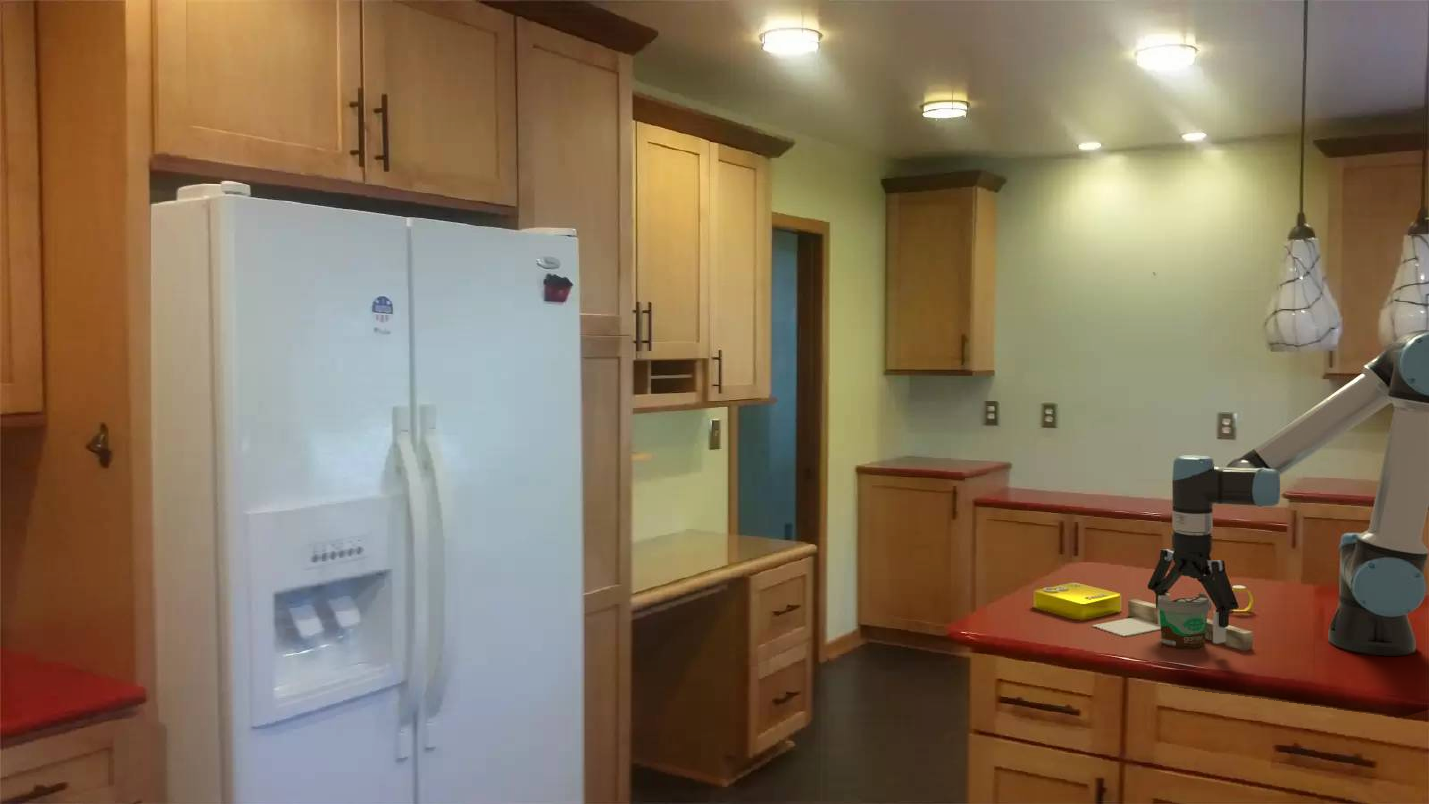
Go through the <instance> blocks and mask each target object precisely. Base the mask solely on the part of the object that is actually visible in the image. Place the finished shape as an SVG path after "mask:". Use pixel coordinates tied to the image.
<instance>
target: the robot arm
mask: <svg viewBox="0 0 1429 804" xmlns="http://www.w3.org/2000/svg"><path fill="white" fill-rule="evenodd" d="M1389 404H1392V405H1393V407H1394V408H1393V409H1394V410H1393V415H1392V419H1391V424H1390V428H1389V433H1388V437H1387V442H1386V446H1385V452H1384V457H1383V460H1382V461H1383V462H1382V466H1381V469H1380V475H1379V479H1378V484H1377V489H1376V493H1375V497H1374V503H1373V507H1372V512H1371V517H1370V522H1369V526H1368V529H1367V530H1365V531H1364V532H1346V533H1343V534H1342V535H1341V537H1340V544H1339V545H1338V548H1339V553H1340V554H1339V557H1340V558H1339V587H1338V588H1339V591H1338V592H1339V593H1338V594H1339V595H1338V596H1339V598H1338V606H1337V608H1336V611H1335V613H1334V615H1333V618H1332V621H1331V622H1330V623H1331V624H1330V626H1329V629H1328V642H1329V643H1330V644H1332V645H1333V646H1335V647H1337V648H1340V649H1343V650H1346V651H1351V652H1355V653H1360V654H1366V655H1373V656H1388V657H1396V656H1405V655H1406V656H1407V655H1411V654H1413V653H1415V652H1416V637H1415V634H1414V632H1413V629H1412V625H1411V622H1410V620H1409V617H1408V614H1410V613H1411V612H1413V611H1415V610H1416V609H1418V607H1420V605H1421V604H1422V603H1423V601H1424V599H1425V597H1426V594H1427V593H1426V591H1427V586H1426V585H1427V583H1426V579H1425V576H1424V575H1425V569H1426V565H1427V561H1428V555H1429V549H1428V548H1427V546H1426V545H1425V544H1424V542H1423V541H1422V538H1423V533H1424V529H1425V524H1426V520H1427V515H1428V512H1429V330H1427V329H1425V330H1423V329H1420V330H1415V331H1414V330H1413V331H1411V332H1408V333H1406V334H1404V335H1403V336H1401V337H1399V338H1398V339H1397V340H1396V341H1394V342H1393V343H1392V344H1391V345H1389V346H1388V347H1387V348H1385V350H1383V351H1382V352H1380V353H1379V354H1378V355H1377V356H1376V357H1374V358H1373V359H1372V360H1371V361H1369V362H1368V363H1366V364H1365V365H1364V366H1363V368H1362V373H1361V374H1360V375H1358V376H1357V377H1355V378H1353V379H1352V380H1351V381H1349V382H1348V383H1346V384H1344V385H1343V386H1342V387H1340V388H1339V389H1338V390H1337V391H1335V392H1334V393H1332V394H1331V395H1329V396H1328V397H1326V398H1325V399H1323V400H1322V401H1321V402H1319V403H1317V404H1316V405H1315V406H1313V407H1312V408H1310V409H1309V410H1307V411H1306V412H1304V413H1303V414H1302V415H1300V416H1299V417H1297V418H1295V420H1293V421H1291V422H1290V423H1289V424H1287V425H1286V426H1284V427H1283V428H1282V429H1279V431H1276V433H1274V434H1272V436H1270V437H1267V438H1266V439H1265V440H1264V441H1262V442H1261V443H1259V444H1258V445H1257V446H1255V447H1254V448H1253V449H1252V450H1250V451H1247V453H1246V454H1243V455H1241V456H1240V457H1237V458H1234V459H1232V460H1231V461H1230V462H1229V463H1228V464H1227V465H1226V467H1225V466H1223V467H1222V466H1216V465H1215V463H1214V459H1213V458H1212V457H1211V456H1208V455H1197V454H1196V455H1193V454H1191V455H1189V454H1187V455H1180V456H1177V457H1175V459H1174V460H1173V466H1172V467H1173V468H1172V479H1171V480H1172V482H1171V483H1172V484H1171V485H1172V488H1171V489H1172V494H1171V495H1172V510H1171V511H1172V515H1171V516H1172V518H1171V520H1172V521H1171V522H1172V523H1171V524H1172V525H1171V526H1172V529H1173V530H1174V531H1172V532H1171V547H1172V548H1165V549H1161V550H1160V553H1159V554H1160V555H1159V560H1158V562H1157V565H1156V566H1155V568H1154V571H1153V573H1152V576H1151V577H1150V579H1149V582H1148V583H1147V588H1148V590H1149V591H1152V592H1154V594H1155V604H1156V609H1157V606H1158V602H1159V599H1161V600H1166V601H1171V594H1169V592H1170V591H1169V590H1170V589H1171V588H1172V587H1173V586H1174V584H1176V582H1177V581H1178V580H1179V579H1180V578H1181V577H1182V576H1184V577H1189V578H1191V579H1196V580H1197V581H1198V583H1200V584H1201V585H1202V587H1203V588H1204V590H1205V591H1206V593H1207V596H1208V597H1209V599H1210V601H1211V603H1213V605H1214V606H1215V610H1212V611H1213V614H1212V616H1213V617H1212V621H1213V642H1212V643H1213V644H1218V643H1221V642H1226V627H1228V625H1230V620H1229V619H1230V611H1231V610H1239V604H1238V601H1237V598H1236V595H1235V592H1233V590H1232V585H1231V582H1230V579H1229V578H1228V575H1227V572H1226V563H1225V560H1223V559H1218V560H1213V559H1212V558H1211V556H1210V555H1211V552H1212V550H1213V534H1212V533H1211V532H1212V531H1213V525H1214V523H1213V519H1214V518H1213V510H1214V507H1213V506H1214V505H1215V504H1217V505H1233V506H1235V505H1236V506H1237V505H1238V506H1253V507H1259V508H1262V507H1275V506H1277V505H1278V504H1279V503H1280V498H1281V497H1280V496H1281V476H1282V475H1284V474H1285V473H1287V472H1288V471H1289V470H1291V469H1293V468H1294V467H1296V466H1297V465H1298V464H1300V463H1302V462H1303V461H1304V460H1305V461H1306V459H1308V458H1310V457H1311V456H1312V455H1314V454H1315V453H1317V452H1318V451H1320V450H1321V449H1323V448H1325V447H1326V446H1327V445H1328V444H1331V443H1332V442H1334V441H1336V440H1337V439H1338V438H1339V437H1342V435H1344V434H1346V433H1347V432H1349V431H1350V430H1351V429H1353V428H1354V427H1356V426H1358V425H1359V424H1361V423H1362V422H1364V421H1365V420H1367V419H1368V418H1370V417H1371V416H1373V415H1374V414H1375V413H1377V412H1378V411H1380V410H1382V409H1383V408H1384V407H1386V406H1387V405H1389ZM1172 562H1173V563H1174V565H1173V566H1172V567H1171V564H1172ZM1170 567H1171V568H1170ZM1169 569H1170V570H1169ZM1168 571H1169V572H1168ZM1167 573H1168V574H1167ZM1158 626H1160V627H1161V625H1160V610H1159V609H1158Z"/></svg>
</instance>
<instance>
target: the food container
mask: <svg viewBox="0 0 1429 804" xmlns="http://www.w3.org/2000/svg"><path fill="white" fill-rule="evenodd" d="M1157 609H1159V610H1160V625H1161V630H1160V634H1161V635H1160V636H1161V638H1160V639H1161V647H1163V648H1168V649H1173V650H1181V651H1196V650H1197V651H1198V650H1201V649H1203V648H1204V647H1205V644H1206V643H1205V642H1206V640H1205V635H1206V625H1207V619H1208V614H1209V612H1210V611H1211V610H1212V609H1213V608H1212V601H1211V599H1210V597H1209V595H1208V594H1204V593H1202V592H1198V596H1195V597H1188V598H1185V597H1180V598H1177V599H1174V600H1170V601H1166V600H1161V599H1159V602H1158V606H1157Z"/></svg>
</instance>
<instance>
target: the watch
mask: <svg viewBox="0 0 1429 804" xmlns="http://www.w3.org/2000/svg"><path fill="white" fill-rule="evenodd" d="M1231 587H1232V590H1233V593H1235V592H1236V591H1237V592H1246V593H1247V595H1249V603H1248V606H1247V607H1245V608H1244V609H1234V610H1230V611H1231V612H1232V611H1248V612H1250V611H1251V610H1252V608H1254V607H1253V606H1254V603H1255V598H1254V596H1253V594H1252V592H1251V591H1250V590H1248V589H1247V587H1246V586H1244V585H1240V584H1239V585H1238V584H1237V585H1233V586H1232V585H1231Z"/></svg>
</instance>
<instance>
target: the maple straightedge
mask: <svg viewBox="0 0 1429 804" xmlns="http://www.w3.org/2000/svg"><path fill="white" fill-rule="evenodd" d="M1127 606H1128V608H1127V611H1128V612H1127V616H1128V617H1130V618H1133V617H1136V618H1140V619H1143V620H1146V621H1150V622H1153V623H1156V624H1158V609H1156V603H1152V602H1150V601H1149V602H1148V601H1144V600H1140V599H1138V598H1135V599H1134V598H1133V599H1129V600H1128V601H1127ZM1253 635H1254V632H1253V631H1251V630H1248V629H1244V628H1241V627H1236V626H1233V625H1231V624H1229V625H1228V627H1226V642H1221V643H1217V644H1218V645H1221V646H1224V647H1225V646H1228V647H1231V648H1234V649H1237V650H1241V651H1243V652H1244V651H1248V650H1252V649H1253V645H1254V644H1253V640H1254V639H1253V638H1254V637H1253ZM1205 641H1209V642H1211V643H1213V619H1209V618H1207V625H1206V635H1205Z"/></svg>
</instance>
